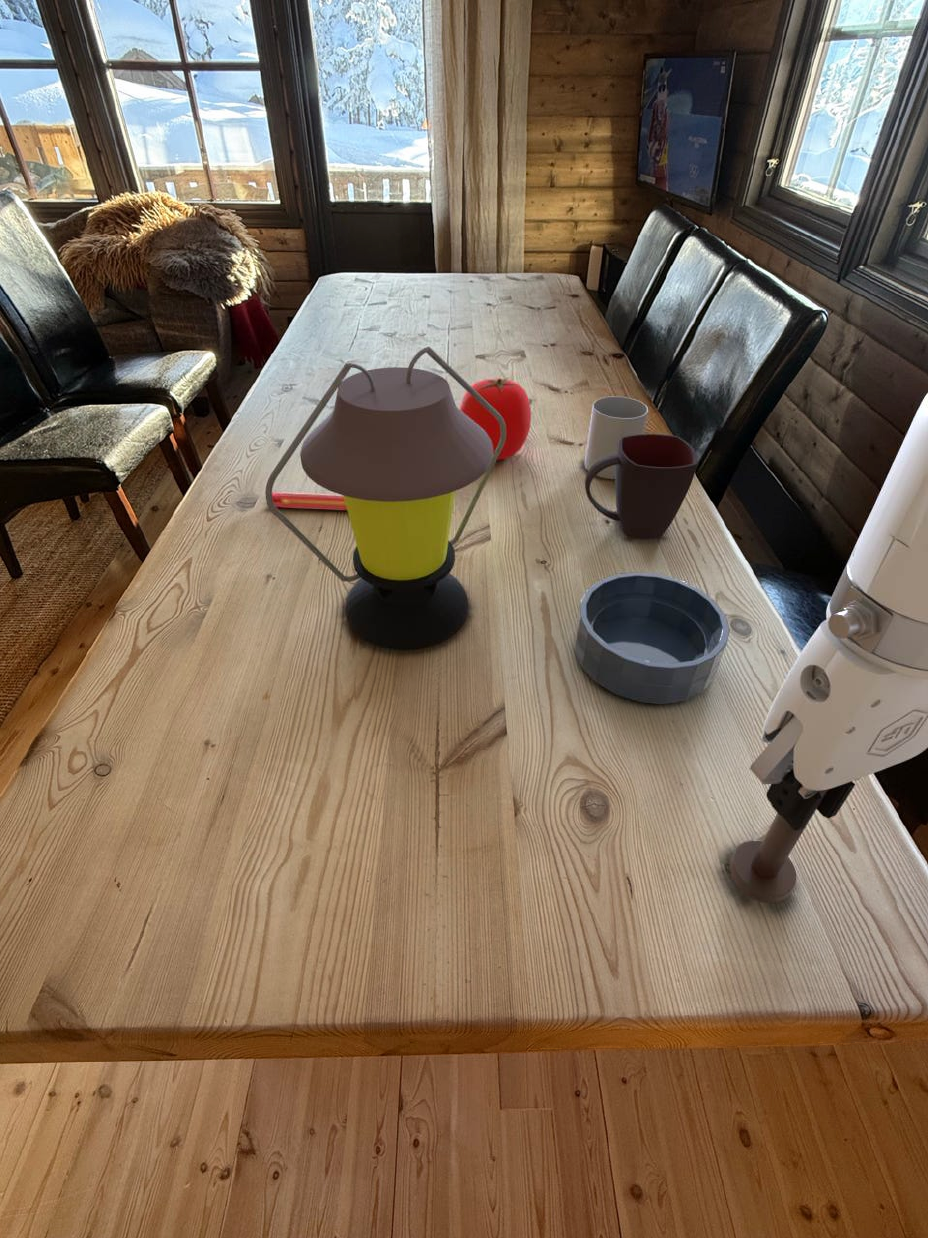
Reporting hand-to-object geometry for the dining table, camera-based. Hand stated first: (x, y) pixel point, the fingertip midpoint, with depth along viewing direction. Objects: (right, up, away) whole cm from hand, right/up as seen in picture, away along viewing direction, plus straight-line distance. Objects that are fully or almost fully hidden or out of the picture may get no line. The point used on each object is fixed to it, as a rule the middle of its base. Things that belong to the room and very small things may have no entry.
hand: (799, 805), depth 47 cm
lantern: (-31, +14, +32) cm, 47 cm away
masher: (0, -7, +6) cm, 10 cm away
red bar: (-41, +30, +50) cm, 71 cm away
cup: (0, +38, +60) cm, 71 cm away
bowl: (-4, +9, +26) cm, 28 cm away
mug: (-1, +26, +46) cm, 53 cm away
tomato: (-19, +41, +63) cm, 78 cm away
